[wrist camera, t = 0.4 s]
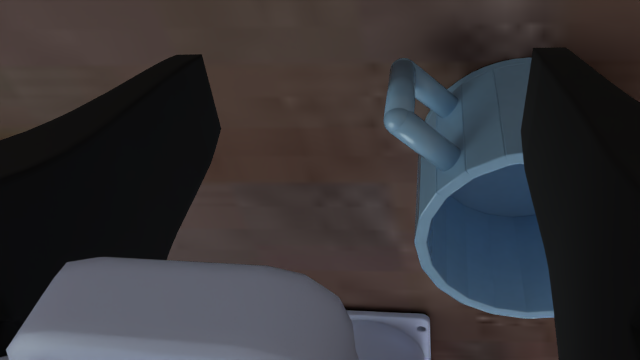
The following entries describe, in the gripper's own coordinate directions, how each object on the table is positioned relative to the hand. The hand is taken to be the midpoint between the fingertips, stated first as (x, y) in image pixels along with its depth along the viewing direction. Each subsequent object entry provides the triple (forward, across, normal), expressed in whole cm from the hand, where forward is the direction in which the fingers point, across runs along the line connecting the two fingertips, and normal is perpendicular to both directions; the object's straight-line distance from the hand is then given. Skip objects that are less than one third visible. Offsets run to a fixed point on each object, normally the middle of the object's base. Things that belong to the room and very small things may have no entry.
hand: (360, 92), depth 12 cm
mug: (+10, -4, +8) cm, 13 cm away
